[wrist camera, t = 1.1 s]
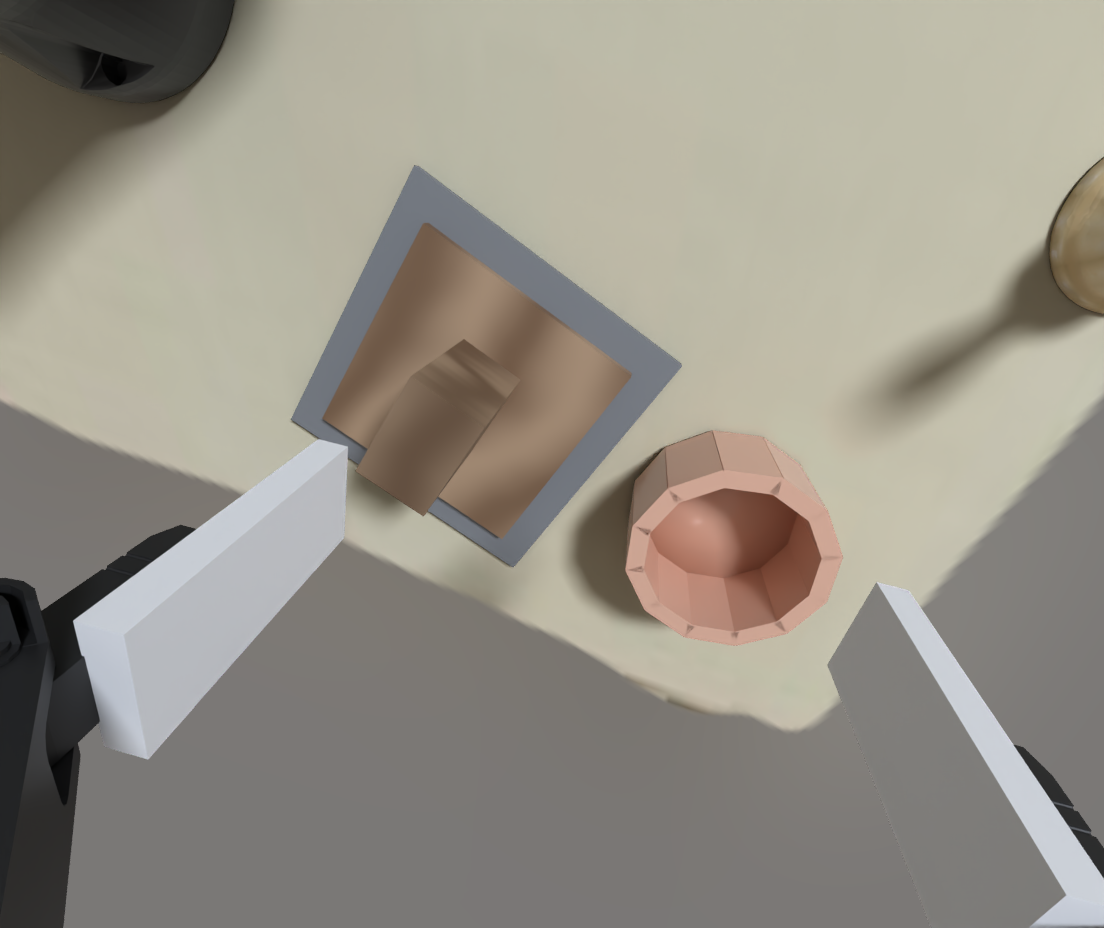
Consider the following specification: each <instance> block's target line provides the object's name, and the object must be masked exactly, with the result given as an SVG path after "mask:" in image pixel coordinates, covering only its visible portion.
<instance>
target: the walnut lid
mask: <svg viewBox="0 0 1104 928" xmlns="http://www.w3.org/2000/svg"><path fill="white" fill-rule="evenodd" d="M631 376H632V373H631V372H630V371H628V370H627V369H626V368H624V367H623V366H621V365H620V364H619V363H617V362H616V361H615V360H613V359H612V358H611V357H609V356H608V355H607V354H605V353H604V352H603V351H601V350H600V349H599V348H597V347H596V346H594V345H593V344H592V343H590V342H589V341H588V340H586V339H585V338H584V337H582V336H581V335H580V334H578V333H577V332H576V331H574V330H573V329H571V328H570V327H569V326H567V325H566V324H565V323H563V322H562V321H561V320H559V319H558V318H557V317H555V316H554V315H553V314H551V313H550V312H548V311H547V310H546V309H544V308H543V307H542V306H540V305H539V304H538V303H536V302H535V301H534V300H532V299H531V298H530V297H528V296H527V295H526V294H524V293H523V292H521V291H520V290H519V289H517V288H516V287H515V286H513V285H512V284H511V283H509V282H508V281H507V280H505V279H504V278H503V277H501V276H500V275H498V274H497V273H496V272H494V271H493V270H492V269H490V268H489V267H488V266H486V265H485V264H484V263H482V262H481V261H480V260H478V259H477V258H475V257H474V256H473V255H471V254H470V253H469V252H467V251H466V250H465V249H463V248H462V247H461V246H459V245H458V244H457V243H455V242H454V241H452V240H451V239H450V238H448V237H447V236H446V235H444V234H443V233H442V232H440V231H439V230H438V229H436V228H435V227H434V226H432V225H431V224H430V223H423V224H422V226H421V228H420V230H419V232H418V234H417V236H416V238H415V240H414V242H413V244H412V246H411V247H410V249H409V251H408V253H407V255H406V257H405V259H404V261H403V263H402V265H401V267H400V269H399V271H398V273H397V275H396V276H395V278H394V280H393V282H392V284H391V286H390V288H389V290H388V292H387V294H386V296H385V298H384V300H383V302H382V304H381V305H380V307H379V309H378V311H377V313H376V315H375V317H374V319H373V321H372V323H371V325H370V327H369V329H368V331H367V333H366V334H365V336H364V338H363V340H362V342H361V344H360V346H359V348H358V350H357V352H356V354H355V356H354V358H353V360H352V362H351V363H350V365H349V367H348V369H347V371H346V373H345V375H344V377H343V379H342V381H341V383H340V385H339V387H338V389H337V391H336V393H335V394H334V396H333V398H332V400H331V402H330V404H329V406H328V408H327V410H326V412H325V414H324V416H323V418H322V419H324V420H325V421H327V422H328V423H330V424H331V425H333V426H334V427H336V428H337V429H339V430H340V431H342V432H343V433H345V434H346V435H348V436H349V437H351V438H352V439H354V440H355V441H357V442H358V443H359V444H361V445H362V446H364V447H365V448H367V449H368V450H367V452H366V454H365V455H364V457H363V459H362V460H361V462H360V464H359V466H358V467H357V469H356V472H357V473H359V474H360V475H362V476H363V477H365V478H366V479H368V480H369V481H371V482H373V483H374V484H376V485H377V486H379V487H380V488H382V489H383V490H385V491H386V492H388V493H389V494H391V495H392V496H394V497H395V498H397V499H398V500H400V501H401V502H403V503H404V504H406V505H407V506H409V507H410V508H412V509H413V510H415V511H416V512H418V513H419V514H421V515H422V516H424V515H425V514H426V512H427V511H428V510H429V508H430V507H431V506H432V504H433V503H434V502H435V500H436V499H437V497H440V498H441V499H443V500H444V501H446V502H447V503H449V504H450V505H452V506H453V507H455V508H456V509H458V510H459V511H461V512H462V513H464V514H465V515H467V516H468V517H470V518H471V519H473V520H474V521H476V522H477V523H478V524H480V525H481V526H483V527H484V528H486V529H487V530H489V531H490V532H492V533H493V534H495V535H496V536H498V537H499V538H501V539H503V537H504V536H505V535H506V534H507V532H508V531H509V530H510V529H511V527H512V526H513V525H514V524H515V522H516V521H517V520H518V519H519V517H520V516H521V515H522V513H523V512H524V511H525V510H526V508H527V507H528V506H529V505H530V503H531V502H532V501H533V500H534V498H535V497H536V496H537V495H538V493H539V492H540V491H541V490H542V488H543V487H544V486H545V485H546V483H547V482H548V481H549V480H550V478H551V477H552V476H553V475H554V473H555V472H556V471H557V470H558V468H559V467H560V466H561V465H562V463H563V462H564V461H565V460H566V458H567V457H568V456H569V455H570V453H571V452H572V451H573V450H574V448H575V447H576V446H577V444H578V443H579V442H580V441H581V439H582V438H583V437H584V436H585V434H586V433H587V432H588V431H589V429H590V428H591V427H592V426H593V424H594V423H595V422H596V421H597V419H598V418H599V417H600V416H601V414H602V413H603V412H604V411H605V409H606V408H607V407H608V406H609V404H610V403H611V402H612V401H613V399H614V398H615V397H616V396H617V394H618V393H619V392H620V391H621V389H622V388H623V387H624V386H625V384H626V383H627V382H628V381H629V379H630V378H631Z"/></svg>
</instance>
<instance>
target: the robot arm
mask: <svg viewBox="0 0 1104 928" xmlns="http://www.w3.org/2000/svg"><path fill="white" fill-rule="evenodd" d="M233 3H234V0H0V53H2V54H4V55H6V56H7V57H9V58H11V59H12V60H14V61H16V62H18V63H19V64H21V65H23V66H25V67H26V68H28V69H30V70H32V71H33V72H35V73H37V74H38V75H40V76H42V77H44V78H46V79H48V80H50V81H52V82H54V83H56V84H58V85H61V86H63V87H66V88H69V89H71V90H74V91H77V92H80V93H84V94H89V95H93V96H98V97H103V98H108V99H112V100H117V101H122V102H130V103H144V102H153V101H158V100H162V99H165V98H168V97H170V96H173V95H175V94H177V93H178V92H180V91H182V90H184V89H185V88H186V87H188V86H189V85H191V84H192V83H193V82H194V81H195V80H196V79H197V78H198V77H199V76H200V75H201V74H202V73H203V72H204V71H205V69H206V68H207V67H208V66H209V64H210V63H211V61H212V60H213V58H214V57H215V55H216V53H217V51H218V49H219V47H220V45H221V43H222V41H223V38H224V36H225V33H226V30H227V27H228V25H229V21H230V17H231V13H232V8H233ZM347 458H348V447H347V446H343V445H340V444H336V443H332V442H328V441H324V440H320V439H318V440H317V441H315V442H314V443H313V444H311V445H310V446H308V447H307V448H306V449H304V450H303V451H302V452H300V453H299V454H298V455H296V456H295V457H294V458H292V459H291V460H290V461H288V462H287V463H285V464H284V465H283V466H281V467H280V468H279V469H277V470H276V471H275V472H273V473H272V474H271V475H269V476H268V477H267V478H265V479H264V480H263V481H261V482H260V483H258V484H257V485H256V486H254V487H253V488H252V489H250V490H249V491H248V492H246V493H245V494H244V495H242V496H241V497H240V498H238V499H237V500H236V501H234V502H233V503H232V504H230V505H229V506H227V507H226V508H225V509H223V510H222V511H221V512H219V513H218V514H217V515H215V516H214V517H213V518H211V519H210V520H209V521H207V522H206V523H204V524H203V525H202V526H200V527H199V528H198V529H194V528H191V527H187V526H183V525H179V526H177V527H174V528H171V529H169V530H166V531H163V532H160V533H158V534H155V535H153V536H150V537H149V538H147V539H146V540H144V541H143V542H141V543H140V544H139V545H137V546H136V547H134V548H133V549H131V550H130V551H128V552H127V554H126V556H121V557H120V558H118V559H117V560H115V561H114V562H112V563H111V564H109V565H108V566H107V569H106V570H101V571H99V572H98V573H96V574H95V575H93V576H92V577H90V578H89V579H87V580H86V581H85V582H83V583H82V584H80V585H79V586H77V587H76V588H74V589H73V590H71V591H70V592H68V593H67V594H65V595H64V596H63V597H61V598H60V599H58V600H57V601H55V602H54V603H53V604H51V605H49V606H48V607H47V608H45V609H44V610H42V611H41V609H40V606H39V602H38V599H37V595H36V591H35V588H33V587H31V586H30V585H29V584H27V583H25V582H24V581H19V580H14V579H8V578H0V928H63V924H64V914H65V904H66V895H67V894H66V893H67V884H68V875H69V865H70V855H71V845H72V835H73V825H74V815H75V804H76V795H77V785H78V774H79V765H80V751H79V746H78V742H79V741H80V740H81V739H82V738H83V737H84V736H85V735H86V734H87V733H88V732H89V731H90V730H92V729H93V728H94V727H95V726H96V724H99V728H100V732H101V736H102V740H103V744H104V747H107V748H110V749H114V750H117V751H121V752H124V753H128V754H131V755H135V756H138V757H142V758H146V759H149V758H150V757H151V755H152V754H153V753H154V752H155V751H156V750H157V749H158V748H159V746H160V745H161V744H162V743H163V742H164V741H165V740H166V738H167V737H168V736H169V735H170V734H171V733H172V732H173V731H174V729H175V728H176V727H177V726H178V725H179V724H180V723H181V722H182V720H183V719H184V718H185V717H186V716H187V715H188V714H189V713H190V711H191V710H192V709H193V708H194V707H195V706H196V705H197V703H198V702H199V701H200V700H201V699H202V698H203V697H204V696H205V694H206V693H207V692H208V691H209V690H210V689H211V688H212V686H213V685H214V684H215V683H216V682H217V681H218V680H219V678H220V677H221V676H222V675H223V674H224V673H225V672H226V671H227V669H228V668H229V667H230V666H231V665H232V664H233V662H234V661H235V660H236V659H237V658H238V657H239V656H240V655H241V654H242V652H243V651H244V650H245V649H246V648H247V647H248V645H250V643H251V642H252V641H253V640H254V639H255V638H256V637H257V636H258V634H259V633H260V632H261V631H262V630H263V629H264V628H265V626H266V625H267V624H268V623H269V622H270V621H271V620H272V619H273V617H274V616H275V615H276V614H277V613H278V612H279V610H281V608H282V607H283V606H284V605H285V604H286V603H287V602H288V600H289V599H290V598H291V597H292V596H293V595H294V594H295V593H296V591H297V590H298V589H299V588H300V587H301V585H303V583H304V582H305V581H306V580H307V579H308V578H309V576H310V575H311V574H312V573H313V572H314V571H315V570H316V569H317V568H318V567H319V565H320V564H321V563H322V562H323V561H324V560H325V559H326V557H327V556H328V555H329V554H330V553H331V552H332V551H333V549H334V548H335V547H336V546H337V545H338V544H339V543H340V542H341V540H342V539H343V538H344V530H345V506H346V482H347ZM828 668H829V670H830V673H831V675H832V678H833V680H834V683H835V685H836V688H837V690H838V693H839V696H840V698H841V701H842V703H843V706H844V708H845V711H846V713H847V715H848V718H849V721H850V724H851V726H852V728H853V731H854V734H855V736H856V739H857V741H858V744H859V746H860V749H861V751H862V754H863V756H864V759H865V762H866V764H867V767H868V769H869V772H870V774H871V777H872V779H873V782H874V784H875V787H876V789H877V792H878V795H879V797H880V800H881V802H882V805H883V807H884V810H885V812H886V815H887V817H888V820H889V823H890V825H891V828H892V830H893V832H894V835H895V838H896V840H897V843H898V845H899V848H900V850H901V853H902V856H903V858H904V861H905V863H906V866H907V868H908V871H909V873H910V876H911V878H912V881H913V884H914V886H915V889H916V891H917V894H918V896H919V899H920V901H921V904H922V906H923V909H924V912H925V914H926V916H927V919H928V921H929V924H930V927H931V928H1104V848H1103V846H1102V845H1101V844H1100V842H1099V841H1098V839H1097V838H1096V837H1094V836H1092V835H1091V829H1090V828H1089V827H1088V825H1087V824H1086V823H1085V821H1084V820H1083V818H1082V817H1081V815H1080V814H1079V812H1078V811H1074V810H1073V806H1074V805H1073V804H1072V803H1071V801H1070V800H1069V798H1068V797H1067V796H1066V794H1065V793H1064V791H1063V790H1062V788H1061V787H1060V786H1059V784H1058V783H1057V781H1056V780H1055V779H1054V777H1053V776H1052V775H1051V774H1050V773H1049V772H1048V771H1047V770H1046V769H1045V768H1044V767H1043V766H1042V765H1041V764H1040V763H1039V762H1038V761H1037V760H1036V759H1035V758H1034V757H1033V756H1032V755H1030V753H1029V752H1028V751H1026V749H1025V748H1023V747H1020V746H1017V745H1013V744H1012V742H1011V741H1010V739H1009V738H1008V737H1007V735H1006V733H1005V732H1004V730H1003V729H1002V727H1001V726H1000V724H999V723H998V722H997V720H996V719H995V717H994V716H993V714H992V713H991V711H990V710H989V708H988V707H987V705H986V704H985V702H984V701H983V699H982V698H981V696H980V695H979V693H978V692H977V690H976V689H975V688H974V686H973V684H972V683H971V682H970V680H969V679H968V677H967V676H966V675H965V673H964V671H963V670H962V668H961V667H960V665H959V664H958V662H957V661H956V659H955V658H954V656H953V655H952V654H951V652H950V650H949V649H948V648H947V646H946V645H945V643H944V642H943V640H942V639H941V637H940V636H939V634H938V633H937V631H936V630H935V628H934V627H933V625H932V624H931V622H930V621H929V619H928V618H927V616H926V615H925V614H924V612H923V611H922V609H921V608H920V606H919V605H918V603H917V602H916V600H915V599H914V597H913V596H912V594H911V593H910V591H909V590H905V589H902V588H898V587H894V586H890V585H886V584H882V583H878V582H876V584H875V586H874V587H873V589H872V591H871V592H870V594H869V596H868V597H867V599H866V601H865V602H864V604H863V606H862V608H861V609H860V611H859V613H858V614H857V616H856V618H855V619H854V621H853V623H852V624H851V626H850V628H849V629H848V631H847V633H846V634H845V636H844V638H843V639H842V641H841V643H840V644H839V646H838V648H837V650H836V651H835V653H834V655H833V656H832V658H831V660H830V661H829V663H828Z"/></svg>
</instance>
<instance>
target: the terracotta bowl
mask: <svg viewBox="0 0 1104 928" xmlns="http://www.w3.org/2000/svg"><path fill="white" fill-rule="evenodd" d="M842 559H843V555H842V552H841V549H840V546H839V543H838V540H837V537H836V534H835V531H834V528H833V525H832V522H831V519H830V516H829V513H828V510H827V509H826V507H825V505H824V504H823V502H822V500H821V499H820V497H819V495H818V494H817V492H816V490H815V488H814V487H813V485H812V483H811V482H810V480H809V478H808V477H807V475H806V473H805V472H804V470H803V468H802V467H801V465H800V464H798V463H797V462H796V461H794V460H793V459H792V458H790V457H789V456H788V455H786V454H785V453H784V452H782V451H781V450H780V449H778V448H777V447H776V446H774V445H773V444H772V443H770V442H769V441H768V440H766V439H765V438H764V437H760V436H752V435H744V434H736V433H729V432H721V431H709V432H706V433H703V434H701V435H698V436H695V437H692V438H689V439H687V440H684V441H681V442H678V443H675V444H673V445H670V446H667V447H665V448H664V449H663V450H662V451H661V452H660V453H659V454H658V456H657V457H656V458H655V459H654V460H653V461H652V462H651V463H650V465H649V466H648V467H647V468H646V469H645V470H644V471H643V472H642V474H641V475H640V476H639V477H638V478H637V479H636V480H635V483H634V490H633V496H632V502H631V508H630V515H629V522H628V537H627V552H626V567H625V571H626V573H627V575H628V577H629V579H630V581H631V583H632V585H633V587H634V589H635V592H636V594H637V596H638V598H639V600H640V602H641V604H642V606H643V608H644V610H645V611H646V612H648V613H649V614H651V615H652V616H654V617H655V618H657V619H658V620H660V621H661V622H663V623H664V624H665V625H667V626H668V627H670V628H671V629H673V630H674V631H676V632H677V633H679V634H680V635H682V636H683V637H686V638H691V639H697V640H703V641H709V642H715V643H721V644H727V645H733V646H735V645H736V646H737V645H741V644H746V643H750V642H754V641H759V640H763V639H767V638H771V637H776V636H780V635H784V634H786V633H789V632H790V631H791V630H792V629H794V628H795V627H796V626H798V625H799V624H800V623H801V622H803V621H804V620H805V619H806V618H808V617H809V616H810V615H811V614H813V613H814V612H815V611H817V610H818V609H819V608H820V607H822V606H823V605H824V604H825V603H827V601H828V598H829V595H830V592H831V590H832V587H833V584H834V581H835V578H836V576H837V573H838V570H839V567H840V565H841V562H842Z"/></svg>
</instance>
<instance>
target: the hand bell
mask: <svg viewBox="0 0 1104 928" xmlns="http://www.w3.org/2000/svg"><path fill="white" fill-rule="evenodd" d="M1050 242H1051V243H1050V251H1049V255H1050V265H1051V269H1052V273H1053V276H1054V279H1055V281H1056V283H1057V284H1058V286H1059V288H1060V289H1061V290H1062V291H1063V293H1064V294H1065V295H1066V296H1067V297H1068V298H1069V299H1071V300H1072V301H1073V302H1074V303H1076V304H1077V305H1079V306H1081V307H1083V308H1085V309H1088V310H1091V311H1093V312H1097V313H1101V314H1104V158H1103V159H1102V160H1101V161H1100V162H1099V163H1098V164H1096V165H1095V166H1094V167H1093V168H1092V169H1091V170H1090V171H1089V172H1088V173H1087V174H1086V175H1085V176H1084V177H1083V178H1082V179H1081V181H1080V182H1079V183H1078V184H1077V185H1076V187H1075V188H1074V189H1073V191H1072V192H1071V194H1070V195H1069V197H1068V199H1067V200H1066V202H1065V203H1064V205H1063V207H1062V209H1061V211H1060V213H1059V215H1058V217H1057V220H1056V223H1055V225H1054V227H1053V230H1052V233H1051V239H1050Z"/></svg>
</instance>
